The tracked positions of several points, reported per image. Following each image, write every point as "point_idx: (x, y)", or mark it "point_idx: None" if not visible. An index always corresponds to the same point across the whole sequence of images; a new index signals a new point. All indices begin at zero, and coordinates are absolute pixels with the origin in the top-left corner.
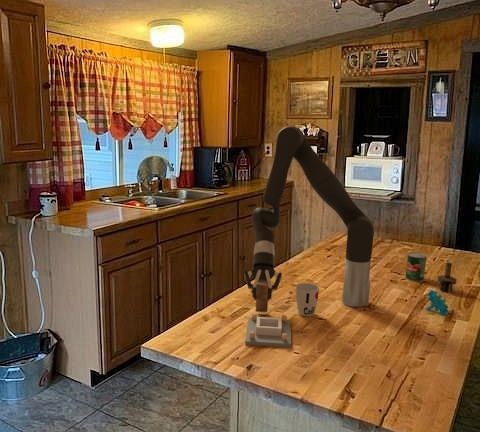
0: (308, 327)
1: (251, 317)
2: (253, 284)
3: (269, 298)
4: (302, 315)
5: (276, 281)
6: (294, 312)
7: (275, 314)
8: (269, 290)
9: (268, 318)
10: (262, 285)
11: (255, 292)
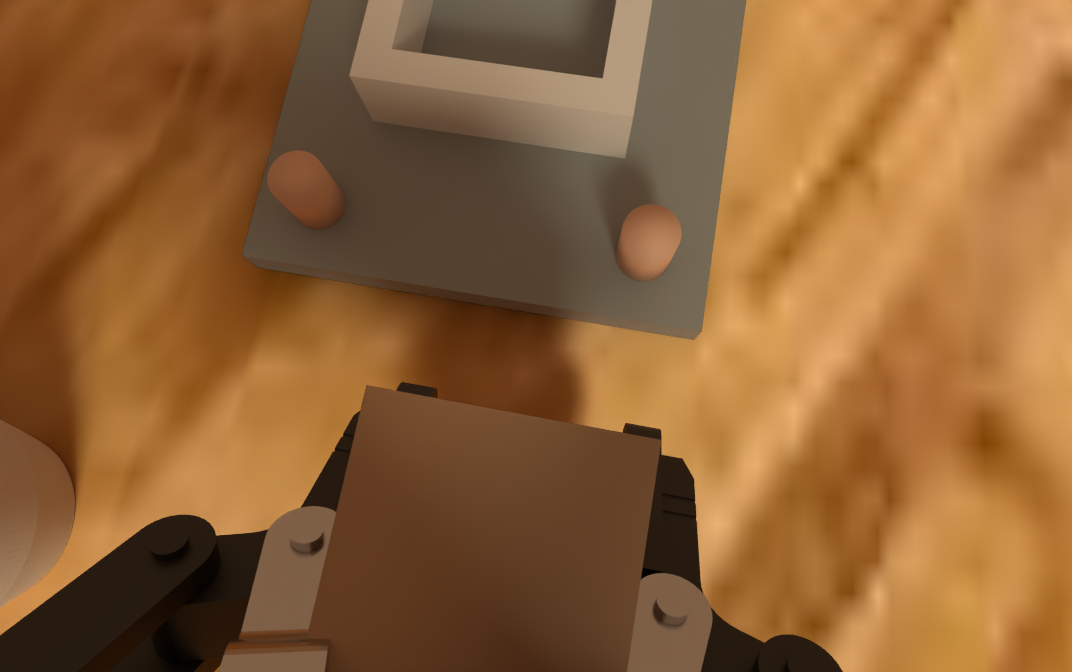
0: (102, 165)
1: (668, 323)
2: (702, 649)
3: None
4: (54, 454)
5: (76, 639)
6: None
7: None
8: None
9: (502, 71)
10: (506, 411)
11: None
